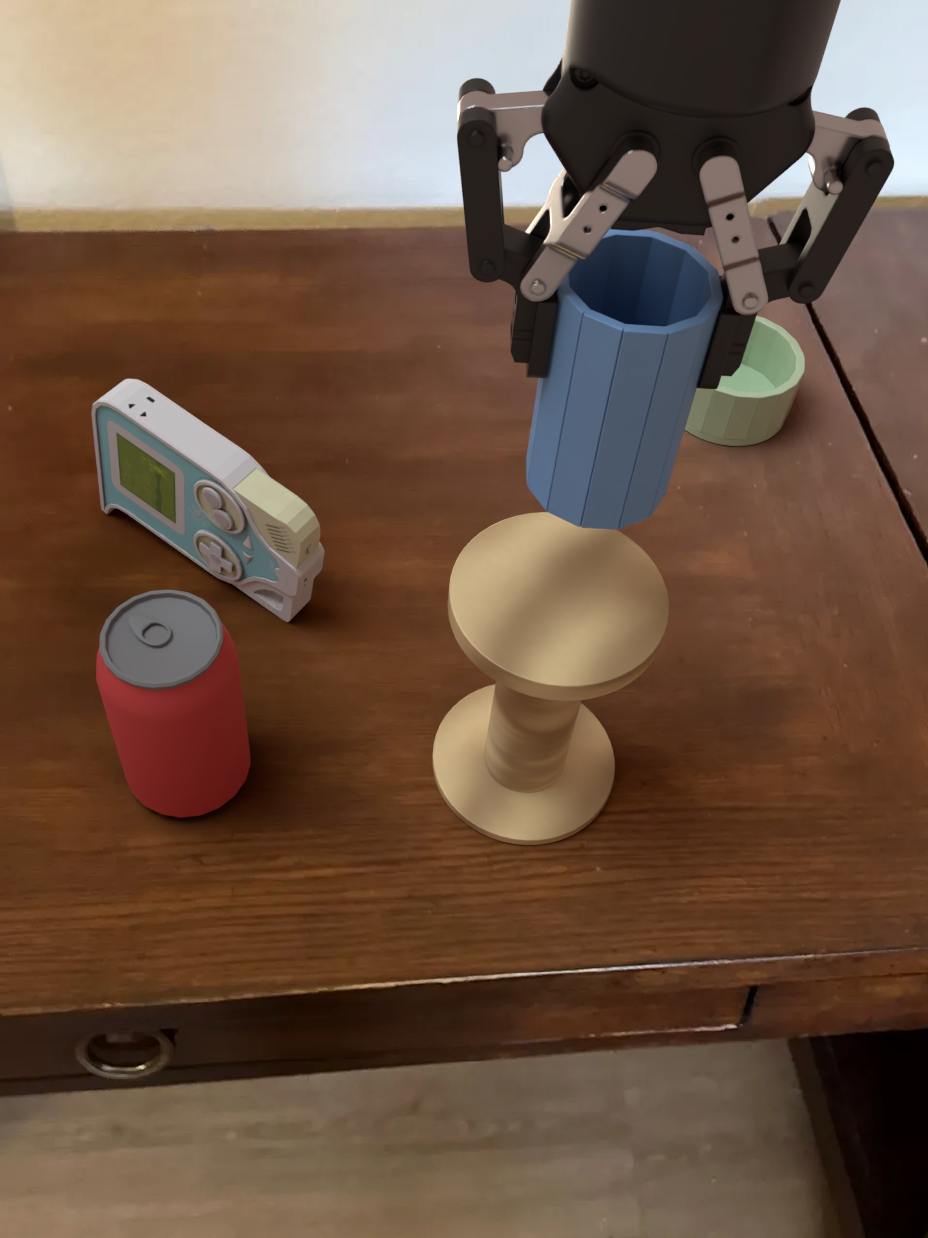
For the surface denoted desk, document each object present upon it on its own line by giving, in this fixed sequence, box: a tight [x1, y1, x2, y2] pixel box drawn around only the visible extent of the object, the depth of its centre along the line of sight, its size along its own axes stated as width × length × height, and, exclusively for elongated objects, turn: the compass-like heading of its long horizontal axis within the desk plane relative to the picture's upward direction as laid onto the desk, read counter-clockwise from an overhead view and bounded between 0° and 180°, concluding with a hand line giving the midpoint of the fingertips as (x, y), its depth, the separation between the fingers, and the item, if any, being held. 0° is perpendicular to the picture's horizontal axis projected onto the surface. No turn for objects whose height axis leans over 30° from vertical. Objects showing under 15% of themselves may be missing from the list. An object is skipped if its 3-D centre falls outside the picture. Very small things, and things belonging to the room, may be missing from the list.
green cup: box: [684, 315, 806, 447], centre depth 84 cm, size 9×9×4 cm
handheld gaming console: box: [90, 378, 326, 623], centre depth 70 cm, size 11×3×15 cm
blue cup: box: [525, 228, 723, 531], centre depth 47 cm, size 6×6×10 cm
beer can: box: [95, 589, 252, 819], centre depth 60 cm, size 7×7×12 cm
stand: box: [431, 511, 670, 846], centre depth 61 cm, size 10×10×15 cm
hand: (620, 367), depth 46 cm, fingers closed on blue cup, 6 cm apart
